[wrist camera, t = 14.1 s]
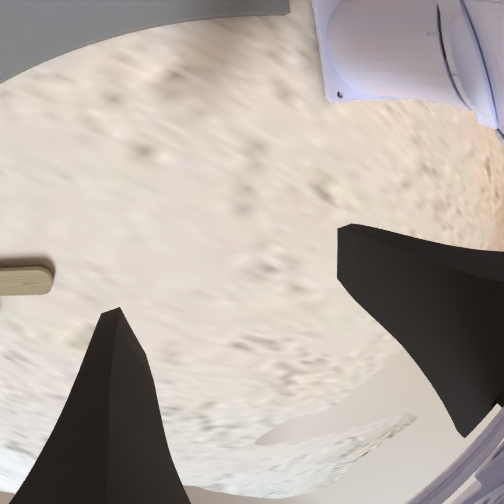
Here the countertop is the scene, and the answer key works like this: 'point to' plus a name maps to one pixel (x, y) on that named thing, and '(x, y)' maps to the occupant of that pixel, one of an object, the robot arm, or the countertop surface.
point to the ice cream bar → (25, 281)
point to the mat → (99, 23)
